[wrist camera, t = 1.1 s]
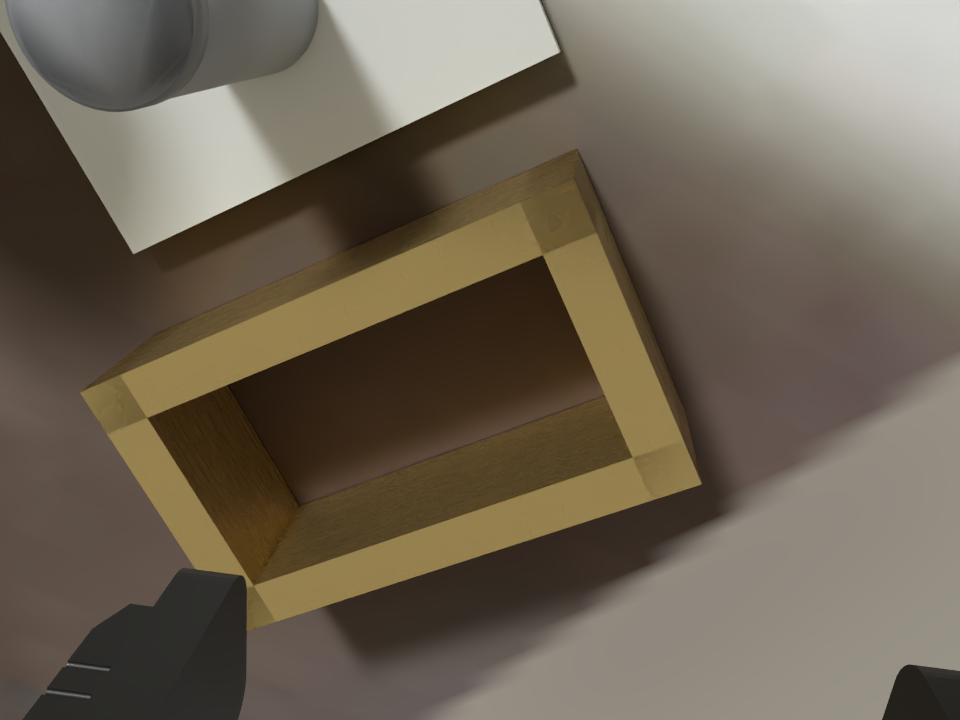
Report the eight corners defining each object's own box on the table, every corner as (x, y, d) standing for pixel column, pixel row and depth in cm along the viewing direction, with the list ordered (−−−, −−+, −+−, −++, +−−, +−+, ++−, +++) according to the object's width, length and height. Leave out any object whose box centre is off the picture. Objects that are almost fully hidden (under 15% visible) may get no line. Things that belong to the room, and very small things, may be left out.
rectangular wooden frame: (577, 148, 25) (574, 179, 21) (685, 410, 27) (702, 484, 23) (153, 335, 29) (79, 392, 24) (284, 549, 31) (238, 634, 27)
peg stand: (414, -311, 21) (306, -500, 13) (560, 50, 24) (544, 78, 16) (-24, -40, 25) (-323, -57, 17) (145, 247, 27) (-41, 351, 19)
